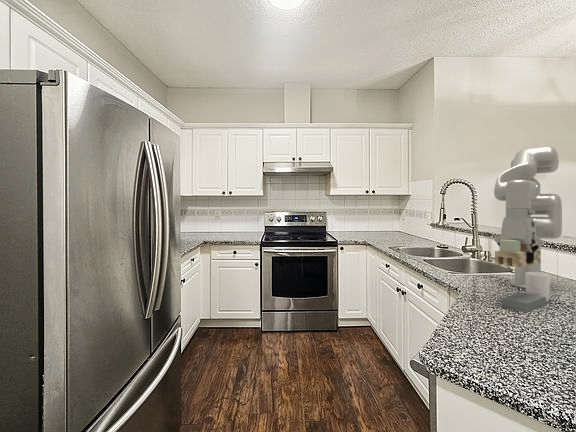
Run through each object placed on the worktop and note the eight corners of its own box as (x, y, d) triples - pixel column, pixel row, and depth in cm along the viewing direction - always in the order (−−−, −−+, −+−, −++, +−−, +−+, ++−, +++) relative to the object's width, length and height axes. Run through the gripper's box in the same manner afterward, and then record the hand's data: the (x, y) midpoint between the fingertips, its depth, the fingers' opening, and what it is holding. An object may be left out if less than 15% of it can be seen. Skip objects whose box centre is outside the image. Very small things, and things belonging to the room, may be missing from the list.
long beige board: (519, 260, 127) (519, 247, 127) (540, 262, 121) (540, 249, 121) (494, 264, 118) (494, 251, 118) (516, 267, 112) (516, 253, 112)
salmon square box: (520, 248, 125) (520, 238, 125) (535, 249, 121) (535, 239, 121) (515, 249, 123) (515, 238, 123) (530, 250, 119) (530, 239, 119)
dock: (521, 299, 125) (521, 292, 125) (546, 304, 119) (546, 296, 119) (501, 306, 118) (501, 298, 118) (526, 312, 111) (526, 303, 111)
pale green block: (505, 250, 120) (505, 239, 120) (520, 251, 115) (520, 240, 115) (499, 251, 118) (499, 240, 118) (514, 252, 113) (514, 241, 113)
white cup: (546, 297, 128) (547, 272, 128) (553, 303, 121) (553, 276, 121) (522, 295, 131) (522, 271, 131) (527, 300, 124) (527, 275, 124)
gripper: (550, 213, 114) (550, 264, 114) (498, 213, 129) (498, 258, 129) (540, 213, 110) (540, 266, 110) (487, 213, 125) (487, 259, 125)
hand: (517, 261), depth 119 cm, fingers closed on long beige board, 7 cm apart
